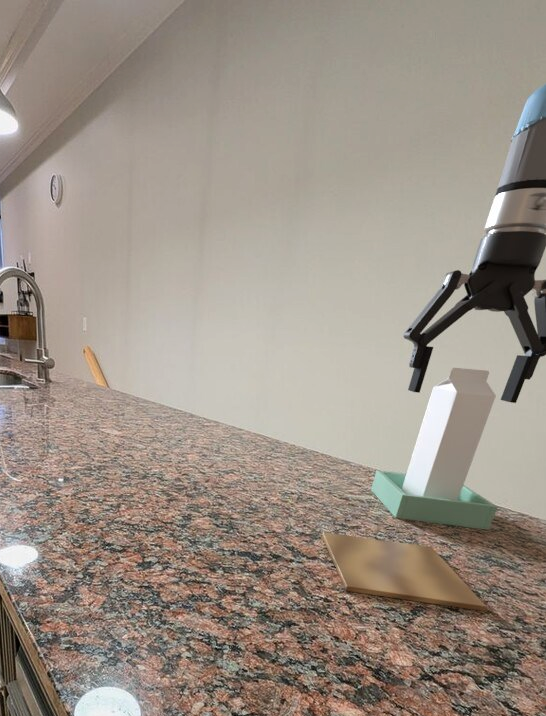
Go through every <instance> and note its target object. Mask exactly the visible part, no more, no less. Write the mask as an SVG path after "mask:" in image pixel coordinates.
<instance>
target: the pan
mask: <svg viewBox="0 0 546 716" xmlns="http://www.w3.org/2000/svg"><path fill="white" fill-rule="evenodd" d="M406 474H407V473H403V472H395V471H388V470H387V471H386V470H379V469H376V470H375V473H374V478H373V481H372V485H371V488H370V491H371V492H372V493H373V494H374V495H375V496H376V497H377V498H378V500H379V501H380V502H381V503H382V504H383V506H384V507H385V508H386V509H387V510H388V511H389V512H390V513H391V515H392V516H393V517H394V518H395V519H401V520H402V519H403V520H407V521H408V520H409V521H415V522H416V521H417V522H426V523H432V524H438V525H439V524H441V525H446V526H447V525H449V526H456V527H463V528H471V529H479V530H486V531H489V530H490V527H491V525H492V522H493V520H494V517H495V515H496V513H497V510H498V506H497V505H496V504H494V503H493V502H492V501H489V500H488V499H486V498H485V497H483V496H482V495H481V494H479V493H477V492H476V491H474V490H473V489H471V488H469V487H468V486H467V485H465V484H464V485H463V488H462V490H461V493H460V496H459V499H458V500H450V499H442V498H434V497H426V496H417V495H409V494H405V493H404V492H403V491H402V487H403V483H404V480H405V477H406Z"/></svg>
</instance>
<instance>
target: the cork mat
mask: <svg viewBox="0 0 546 716" xmlns="http://www.w3.org/2000/svg"><path fill="white" fill-rule="evenodd" d="M321 538H322V540H323V542H324V545H325V547H326V548H327V551H328V554H329V556H330V559H331V561H332V563H333V565H334V567H336V568H335V570H336V573H337V574H338V577H339V579H340V581H341V583H342V586H343V588H344V591H346V592H352V593H359V594H366V595H370V596H371V595H373V596H379V597H385V598H392V599H399V600H405V601H406V600H407V601H413V602H419V603H425V604H434V605H439V606H446V607H452V608H459V609H465V610H466V609H467V610H473V611H480V612H486V610H487V608H488V606H487V605H486V604H485V603H484V602H483V601H482V600H481V599H480V598H479V596H478V595H477V594H476V593H475V592H474V591H473V590H472V589H471V588H470V587H469V586H468V585H467V584H466V583H465V581H464V580H463V579H462V578H461V577H460V576H459V575H458V574H457V573H456V571H455V570H453V568H452V567H451V566H450V565H449V564H448V563H447V562H446V561H445V560H444V559H443V558H442V557H441V556H440V554H439V553H437V550H435V549H434V548H433V547H432V546H426V545H419V544H413V543H412V544H411V543H404V542H397V541H389V540H382V539H377V538H376V539H375V538H368V537H360V536H353V535H345V534H339V533H331V532H322V533H321Z"/></svg>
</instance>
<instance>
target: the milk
mask: <svg viewBox="0 0 546 716" xmlns="http://www.w3.org/2000/svg"><path fill="white" fill-rule="evenodd" d="M489 374H490V371H489V370H485V369H484V370H483V369H474V368H473V369H472V368H462V367H452V368H451V369H450V371H449V375H448V377H447V378H445V379H444V380H442V381H441V382H439V383H438V384H436V385H434V386H432V390H431V393H430V397H429V400H428V403H427V406H426V408H425V413H424V416H423V419H422V422H421V425H420V429H419V432H418V436H417V438H416V442H415V445H414V448H413V452H412V455H411V457H410V461H409V464H408V467H407V471H406V473H405V474H406V477H405V480H404V483H403V487H402V491H403V492H404V493H405V494H409V495H417V496H426V497H434V498H442V499H450V500H458V499H459V496H460V493H461V490H462V488H463V485H465V482H466V479H467V476H468V474H469V471H470V468H471V465H472V462H473V460H474V457H475V456H476V455H475V454H476V451H477V449H478V446H479V444H480V441H481V438H482V435H483V433H484V429H485V428H486V425H487V421H488V418H489V416H490V413H491V409H492V408H493V405H494V402H495V400H496V397H497V396H496V393H495V392H494V391H493V389H492V388H491V386H490V385H489V383H488V382H487V380H488V377H489Z"/></svg>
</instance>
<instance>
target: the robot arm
mask: <svg viewBox="0 0 546 716" xmlns="http://www.w3.org/2000/svg"><path fill="white" fill-rule="evenodd" d="M510 142H511V143H510V146H509V149H508V153H507V156H506V160H505V163H504V166H503V170H502V173H501V176H500V178H499V179H500V180H499V183H498V186H497V189H496V192H495V195H494V198H493V200H492V203H491V207H490V209H489V213H488V216H487V219H486V222H485V225H484V228H483V232H484V233H485V234H486V235H484V236H483V237H482V238H481V239H480V241H479V244H478V248H477V250H476V254H475V256H474V261H473V263H472V269H471V270H470V272H469V274H467V273H463V272H462V271H461V270H460V269H457V270H452V271H450V272H447V273H446V274H445V275H444V277H443V279H442V282H441V285H440V287H439V289H438V290H437V291H436V293H435V294H434V295H433V296H432V298H431V299H430V300H429V302H428V303H427V304H426V305H425V306H424V308H423V309H422V310H421V312H420V313H419V314H418V315H417V317H415V319H414V320H413V322H412V323H411V324H410V325H409V326H408V328H407V329H406V330H405V331H404V333H403V338H404V339H405V340H408V341H410V342H411V343H412V344H413V349H412V353H411V357H410V360H409V363H408V364H409V368H413V372H412V375H411V378H410V382H409V385H408V389H407V391H410V392H412V393H419V394H420V392H421V389H422V386H423V383H424V380H425V376H426V373H427V370H428V367H429V363H430V360H431V357H432V353H433V350H434V346H430V345H429V346H428V344H430V343H431V342H432V341H433V340H435V339H436V338H438V337H439V336H441V334H442V333H443V332H444V331H446V330H447V329H448V328H450V327H451V326H452V325H453V324H454V323H456V322H457V321H458V320H459V319H460V318H462V317H463V316H465V315H466V314H467V313H468V312H470V311H472V310H473V309H474V311H487V310H488V311H490V312H495V313H500V312H504V315H505V316H507V317H508V319H509V321H510V324H511V326H512V329H513V330H514V333H515V335H516V338H517V339H518V342H519V344H520V347H521V348H522V351H523V354H524V355H521V354H520V355H519V354H517V355H516V358H515V360H514V362H513V365H512V368H511V371H510V373H509V375H508V379H507V381H506V384H505V387H504V389H503V392H502V393H501V397H500V401H503V402H506V403H507V402H508V403H512V404H516V403H517V402H518V398H519V396H520V394H521V391H522V389H523V385H524V383H525V381H526V380H528V381H529V380H530V379H532V378H533V375H534V373H535V370H536V368H537V365H538V362H539V360H540V359H541V357H545V356H546V279H540V280H539V279H536V278H535V276H536V275H535V274H536V271H537V269H538V268H539V265H541V261H542V258H543V256H544V253H545V250H546V83H545V84H543V85H541V86H540V87H538V88H537V89H535V90H534V91H533V93H532V94H531V95H530V96H529V97H528V98H527V99H526V101H525V103H524V106H523V110H522V112H521V115H520V117H519V120H518V123H517V125H516V129H515V130H514V134H513V135H512V136H511V139H510ZM462 286H464V289H465V292H466V295H464V297H462V298H461V299H460V300H459V301H457V302H456V304H455V305H454V306H453V307H452V308H451V309H450V310H448V311H447V312H446V313H445V314H443V315H442V316H441V317H440V318H438V319H437V320H436V321H435V322H434V323H432V324H431V325H430V326H429V327H428V328H426V327H427V326H428V324H429V323H430V322H432V320H433V319H434V317H435V316H436V315H437V313H438V312H439V311H440V310H441V309H442V307H444V305H445V304H446V302H447V301H449V299H450V298H451V296H452V295H453V294H454V293H455V291H456V290H459V289H460V288H461V287H462ZM530 292H531V295H532V296H533V297H534V301H533V303H534V312H535V313H534V314H535V323H536V327H535V325H534V322H533V320H532V318H531V316H530V313H529V306H528V303H527V301H526V299H525V297H526V296H527V295H528V294H529V293H530ZM425 328H426V329H425ZM424 329H425V330H424Z"/></svg>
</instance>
